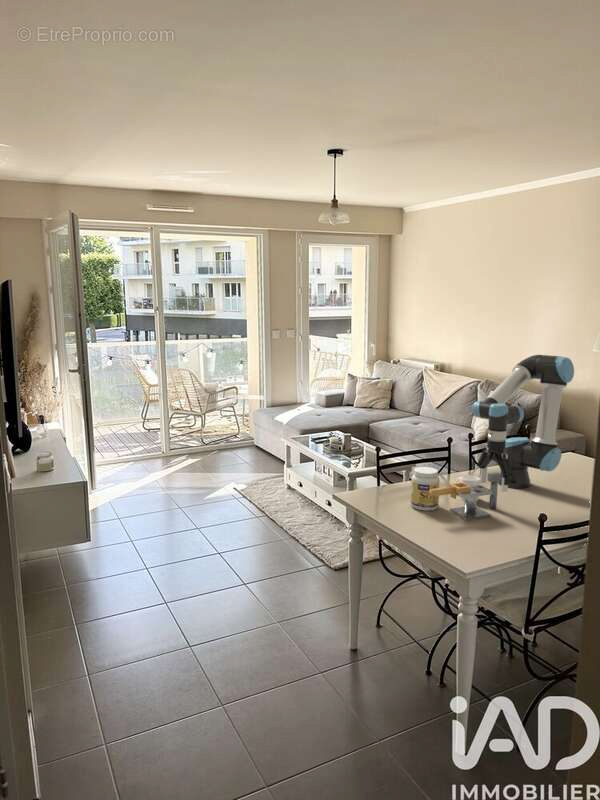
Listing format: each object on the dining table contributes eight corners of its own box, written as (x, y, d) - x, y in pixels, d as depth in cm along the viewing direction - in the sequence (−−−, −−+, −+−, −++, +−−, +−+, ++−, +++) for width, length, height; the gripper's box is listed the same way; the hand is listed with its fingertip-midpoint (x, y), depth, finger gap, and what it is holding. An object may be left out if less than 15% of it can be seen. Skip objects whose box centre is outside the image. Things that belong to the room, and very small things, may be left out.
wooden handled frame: (460, 493, 254) (461, 482, 254) (470, 498, 249) (470, 486, 248) (426, 498, 248) (427, 487, 247) (435, 503, 242) (435, 492, 241)
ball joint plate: (472, 507, 262) (473, 481, 260) (491, 516, 251) (492, 489, 249) (444, 511, 257) (445, 485, 254) (462, 521, 245) (463, 494, 243)
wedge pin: (495, 506, 262) (497, 472, 259) (500, 509, 259) (502, 474, 257) (485, 508, 260) (487, 473, 257) (489, 510, 257) (491, 475, 255)
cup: (471, 503, 266) (472, 482, 265) (449, 496, 276) (450, 475, 274) (482, 499, 271) (483, 478, 270) (461, 492, 281) (462, 472, 279)
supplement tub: (416, 512, 256) (417, 474, 253) (406, 502, 268) (407, 466, 265) (442, 510, 258) (444, 473, 255) (432, 501, 270) (433, 465, 267)
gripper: (470, 434, 264) (468, 479, 268) (510, 447, 241) (506, 496, 245) (484, 432, 267) (481, 478, 271) (524, 445, 244) (520, 494, 248)
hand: (493, 487), depth 258 cm, fingers open, 13 cm apart
